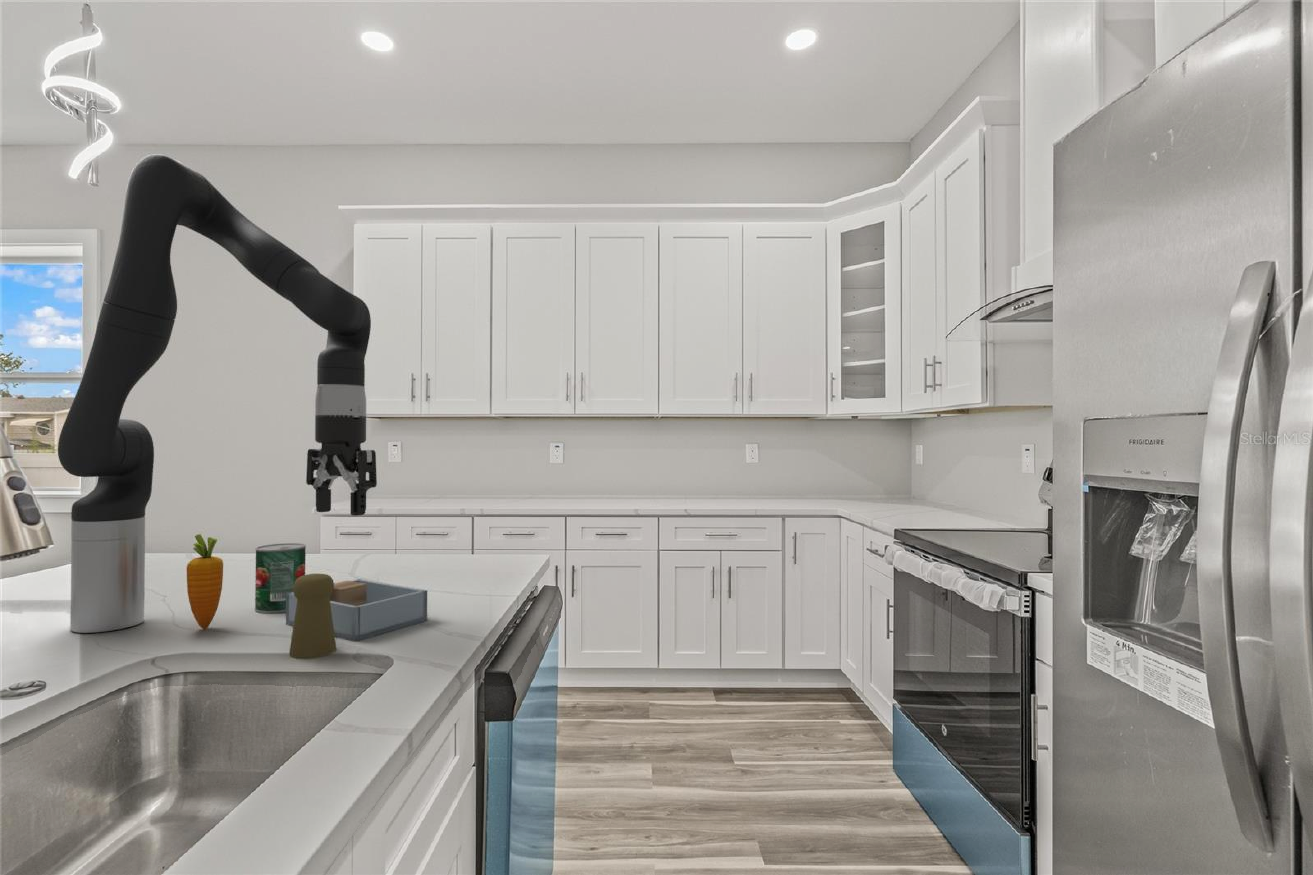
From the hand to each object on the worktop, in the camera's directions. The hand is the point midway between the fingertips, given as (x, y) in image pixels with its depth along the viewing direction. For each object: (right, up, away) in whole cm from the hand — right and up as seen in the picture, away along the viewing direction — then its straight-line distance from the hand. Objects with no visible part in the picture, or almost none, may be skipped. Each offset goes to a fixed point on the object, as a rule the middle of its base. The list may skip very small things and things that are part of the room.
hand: (340, 513), depth 109 cm
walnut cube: (-1, -17, +4) cm, 18 cm away
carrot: (-20, -18, -3) cm, 27 cm away
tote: (+2, -18, +2) cm, 18 cm away
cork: (+2, -18, -13) cm, 23 cm away
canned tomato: (-16, -18, +11) cm, 27 cm away
